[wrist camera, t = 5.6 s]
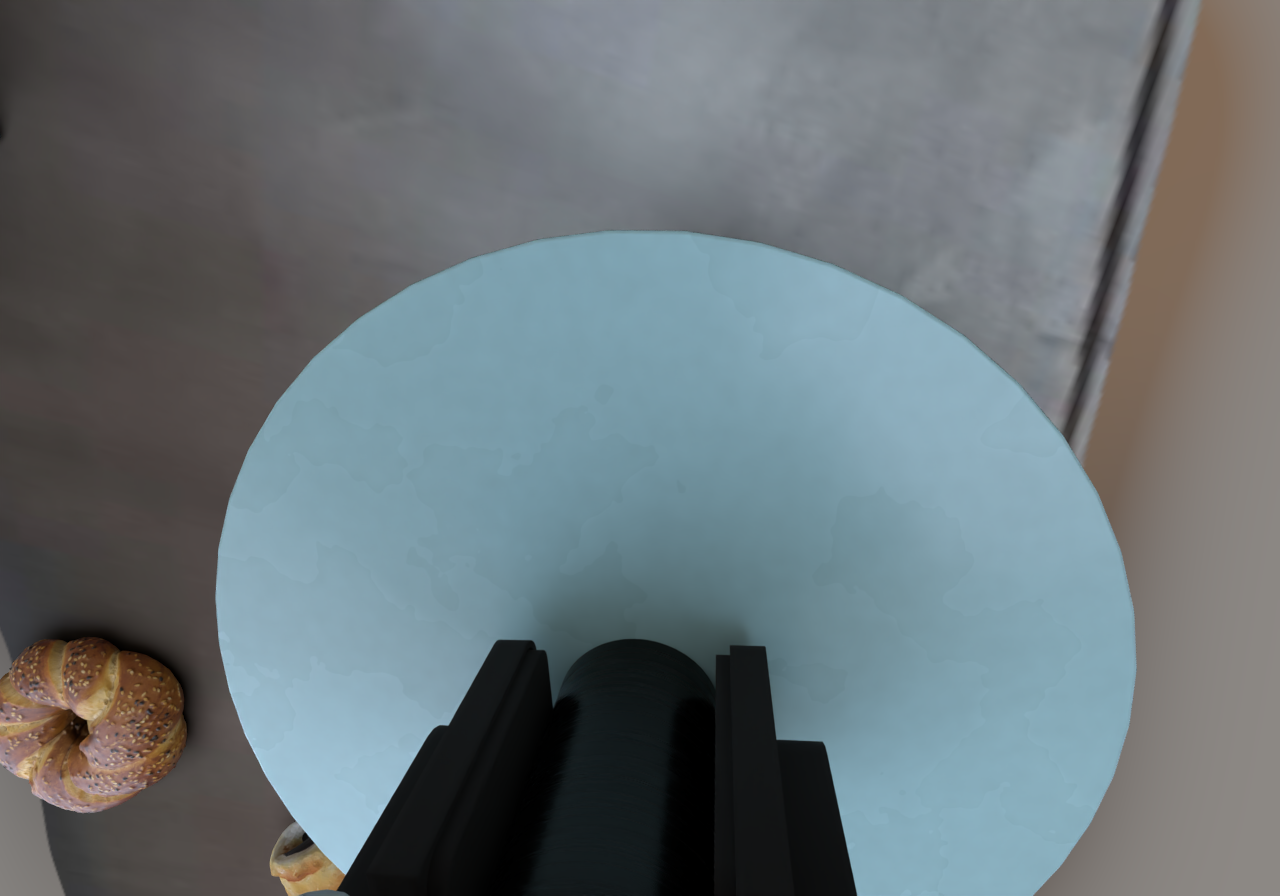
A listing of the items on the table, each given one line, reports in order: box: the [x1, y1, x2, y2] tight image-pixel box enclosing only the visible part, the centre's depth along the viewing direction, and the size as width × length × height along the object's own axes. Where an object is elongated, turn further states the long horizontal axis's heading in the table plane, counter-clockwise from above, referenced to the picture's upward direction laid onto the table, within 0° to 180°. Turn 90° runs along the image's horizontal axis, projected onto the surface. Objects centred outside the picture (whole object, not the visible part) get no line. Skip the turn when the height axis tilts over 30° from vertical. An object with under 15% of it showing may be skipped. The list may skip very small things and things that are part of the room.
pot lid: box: [216, 230, 1137, 896], centre depth 8 cm, size 15×15×6 cm
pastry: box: [270, 821, 345, 896], centre depth 38 cm, size 9×7×4 cm
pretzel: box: [0, 637, 187, 813], centre depth 37 cm, size 12×11×4 cm
